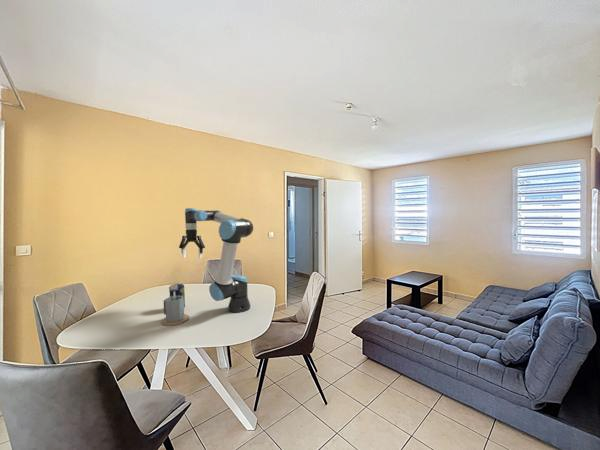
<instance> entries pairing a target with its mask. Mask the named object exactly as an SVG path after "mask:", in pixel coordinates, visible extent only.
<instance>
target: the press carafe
mask: <svg viewBox="0 0 600 450" xmlns="http://www.w3.org/2000/svg"><path fill="white" fill-rule="evenodd" d="M175 297H176V300H174V301H173V296H172V297H170V296H169V297H167V298H165V299H163V314H164V315H165V317H164V318H162V319H161V320H160V325H161V326H165V327H171V326H173V327H174V326H178V325H181V324H184V323H186V322H187V321H189V319H190V316H189V315H188V314H186V313H185V307H184V298H183V296H175Z"/></svg>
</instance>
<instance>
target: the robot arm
mask: <svg viewBox="0 0 600 450" xmlns="http://www.w3.org/2000/svg"><path fill="white" fill-rule="evenodd" d="M184 210H185V211H184V217H185V218H184V220H185V235H182V237H181V241H180V243H179V246H178V249H181V254H182V258H184V259H185V258H186V256H187V255H186V254H187V253H186V252H187V251H186V246H187V245H188V244H189V243H194V244H195V245H196V246H197V248H198V259H202V258H203V249H205V248H206V247H205V244H204V242H203V240H202V236H201V235H198V231H197V226H198V225H197V223H198V222H205V221H206V222H208V221H209V222H210V221H213V222H215V223H218V224H220V225H219V228H218V235H219V238H220V239H221V241H222V249H221V256H220V261H219V265H218V266H219V267H218V273H217V276H216V277H215V278H214V282H213V283H211V284H210V285H209V287H208V289H209V290H208V291H209V294H210V296H211V298H212V299H213V300H214V301H216V302H218V301H219V302H220V301H224V300H226V299H229V298H230V300H229V303H228V308H227V309H228V311H229V312H230V313H231V312H232V313H243V312H247V311H249V310H250V309H251V302H250V299H249V297H248V295H249V294H248V277H247V276H246V275H242V274H241V275H238V274H237V275H236V274H235V275H233V270H234V264H235V260H236V254H237V248H238V245H239V244H241V240H242V238H247V237H249V236H250V235H251V234H252V233H253V231H254V224H253V223H252V221H251V220H249V219H247V218H243V217H242V218H239V217H238V218H237V217H235V216H231V215H229V214H225V213H223V212H222V211H221V210H202V209H201V210H200V209H198V210H197V208H195V207H186V208H185V209H184Z"/></svg>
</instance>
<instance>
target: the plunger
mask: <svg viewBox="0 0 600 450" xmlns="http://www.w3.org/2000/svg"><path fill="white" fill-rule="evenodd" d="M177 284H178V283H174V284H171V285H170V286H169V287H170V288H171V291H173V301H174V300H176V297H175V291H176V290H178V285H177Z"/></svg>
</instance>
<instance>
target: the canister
mask: <svg viewBox="0 0 600 450" xmlns="http://www.w3.org/2000/svg"><path fill="white" fill-rule="evenodd" d="M176 284H177V285H178V290H176V291H175V296H183V298H184V308H185V306H186V299H185V298H186V297H185V295H186V294H185V285H184V284H183V283H176ZM172 296H173V291H171V288H170V286H169V297H172Z"/></svg>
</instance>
